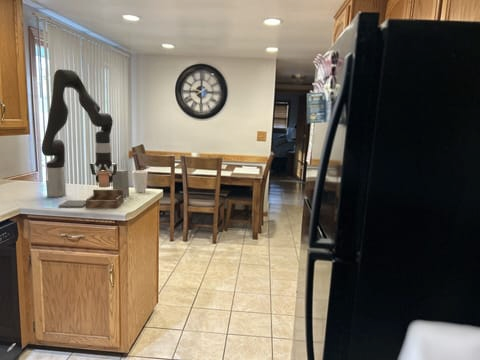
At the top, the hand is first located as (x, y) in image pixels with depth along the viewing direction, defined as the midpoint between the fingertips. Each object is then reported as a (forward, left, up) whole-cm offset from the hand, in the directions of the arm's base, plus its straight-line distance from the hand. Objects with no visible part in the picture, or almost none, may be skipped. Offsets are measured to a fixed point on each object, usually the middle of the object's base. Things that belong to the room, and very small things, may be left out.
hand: (104, 182), depth 185 cm
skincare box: (+3, +22, -13) cm, 25 cm away
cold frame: (0, 0, -12) cm, 12 cm away
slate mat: (-16, 0, -12) cm, 20 cm away
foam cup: (+12, +36, -13) cm, 40 cm away
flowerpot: (0, 0, -2) cm, 2 cm away
